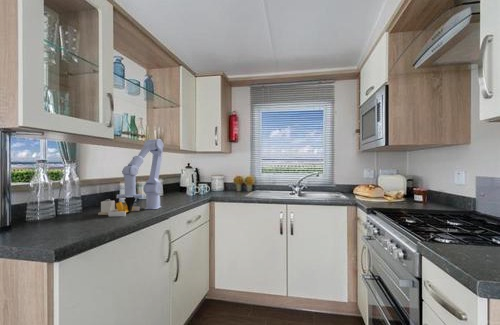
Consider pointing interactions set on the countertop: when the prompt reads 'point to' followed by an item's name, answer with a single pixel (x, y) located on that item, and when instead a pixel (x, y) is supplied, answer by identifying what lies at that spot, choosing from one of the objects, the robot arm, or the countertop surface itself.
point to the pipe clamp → (122, 207)
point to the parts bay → (121, 212)
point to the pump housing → (107, 207)
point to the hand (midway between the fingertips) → (130, 210)
